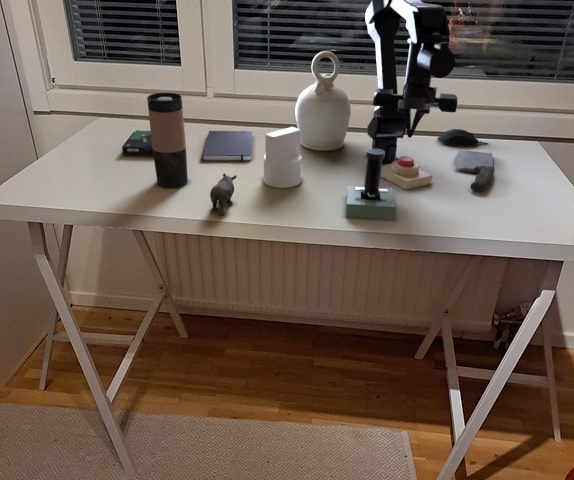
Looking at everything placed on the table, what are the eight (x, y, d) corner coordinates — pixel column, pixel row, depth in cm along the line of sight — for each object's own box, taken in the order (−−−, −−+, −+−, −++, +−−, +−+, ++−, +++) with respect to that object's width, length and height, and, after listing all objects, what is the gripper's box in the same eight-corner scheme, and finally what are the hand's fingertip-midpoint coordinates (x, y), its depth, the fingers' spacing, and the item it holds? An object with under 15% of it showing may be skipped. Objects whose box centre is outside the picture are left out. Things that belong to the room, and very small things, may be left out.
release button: (395, 164, 136) (396, 157, 135) (406, 161, 138) (407, 155, 137) (404, 168, 134) (405, 161, 133) (416, 166, 135) (417, 159, 134)
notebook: (209, 135, 163) (202, 160, 145) (209, 130, 162) (202, 154, 145) (252, 136, 164) (251, 161, 146) (252, 131, 163) (251, 155, 145)
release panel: (377, 174, 140) (379, 159, 138) (401, 169, 143) (403, 154, 141) (405, 189, 132) (408, 173, 130) (430, 183, 135) (433, 168, 133)
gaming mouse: (490, 147, 160) (493, 133, 158) (439, 145, 160) (441, 132, 158) (484, 140, 165) (487, 127, 163) (435, 139, 166) (437, 125, 163)
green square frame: (345, 216, 118) (347, 203, 117) (346, 197, 127) (347, 185, 125) (393, 219, 118) (395, 207, 116) (391, 200, 126) (392, 188, 125)
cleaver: (493, 194, 130) (495, 186, 129) (451, 189, 132) (452, 180, 131) (492, 156, 154) (493, 149, 153) (456, 152, 156) (457, 144, 155)
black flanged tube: (353, 214, 120) (358, 156, 113) (353, 201, 126) (358, 145, 119) (385, 216, 119) (393, 157, 112) (384, 203, 125) (391, 146, 118)
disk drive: (162, 157, 147) (171, 139, 159) (160, 147, 145) (170, 129, 158) (122, 157, 147) (135, 138, 159) (121, 146, 145) (134, 129, 158)
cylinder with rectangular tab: (282, 171, 140) (283, 123, 134) (308, 181, 135) (310, 132, 129) (256, 179, 135) (255, 131, 128) (281, 190, 130) (282, 140, 123)
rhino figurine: (241, 192, 128) (240, 167, 125) (226, 217, 117) (225, 190, 114) (224, 190, 129) (223, 165, 126) (207, 215, 118) (206, 188, 114)
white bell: (313, 132, 168) (317, 44, 155) (357, 143, 161) (366, 51, 147) (283, 145, 158) (285, 51, 144) (329, 157, 150) (336, 59, 137)
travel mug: (194, 179, 134) (188, 94, 124) (179, 190, 128) (171, 102, 117) (166, 174, 136) (158, 91, 126) (150, 185, 130) (139, 99, 119)
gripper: (374, 72, 119) (366, 143, 127) (463, 79, 115) (450, 151, 124) (379, 62, 128) (372, 129, 136) (462, 68, 124) (449, 136, 133)
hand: (409, 137), depth 132 cm, fingers closed
